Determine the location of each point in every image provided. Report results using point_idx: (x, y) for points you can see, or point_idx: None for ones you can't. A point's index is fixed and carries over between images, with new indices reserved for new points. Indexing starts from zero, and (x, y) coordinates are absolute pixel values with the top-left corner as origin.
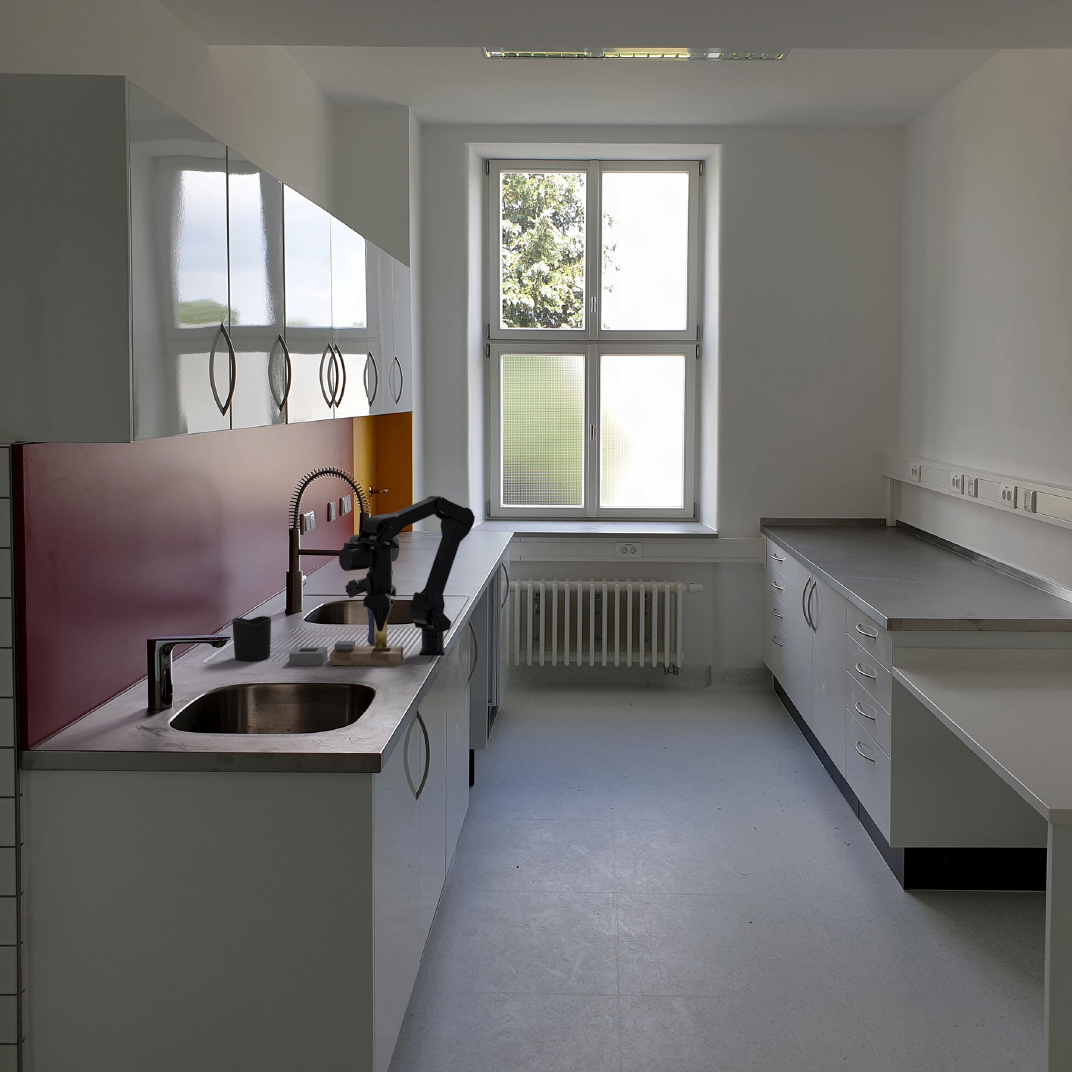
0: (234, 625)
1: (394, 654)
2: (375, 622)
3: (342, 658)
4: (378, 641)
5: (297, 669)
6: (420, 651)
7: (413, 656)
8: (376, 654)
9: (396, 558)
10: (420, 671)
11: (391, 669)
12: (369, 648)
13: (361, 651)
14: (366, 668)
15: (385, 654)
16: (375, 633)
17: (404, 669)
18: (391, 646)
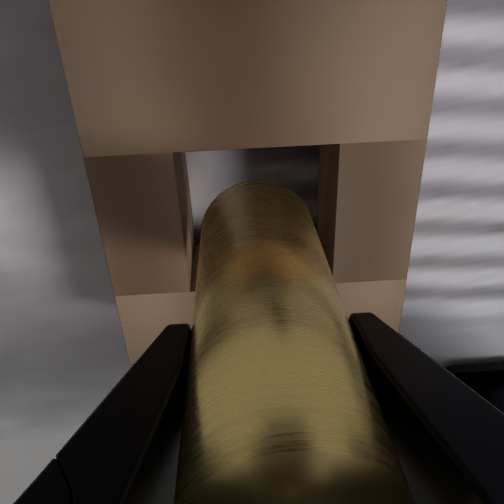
0: None
1: (123, 330)
2: (211, 371)
3: None
4: (199, 253)
5: None
6: (481, 374)
7: (410, 340)
8: (97, 207)
9: None
10: (24, 417)
11: (31, 280)
12: (324, 107)
13: (174, 48)
14: (15, 111)
15: (113, 273)
16: (217, 266)
17: (51, 345)
18: (397, 276)
